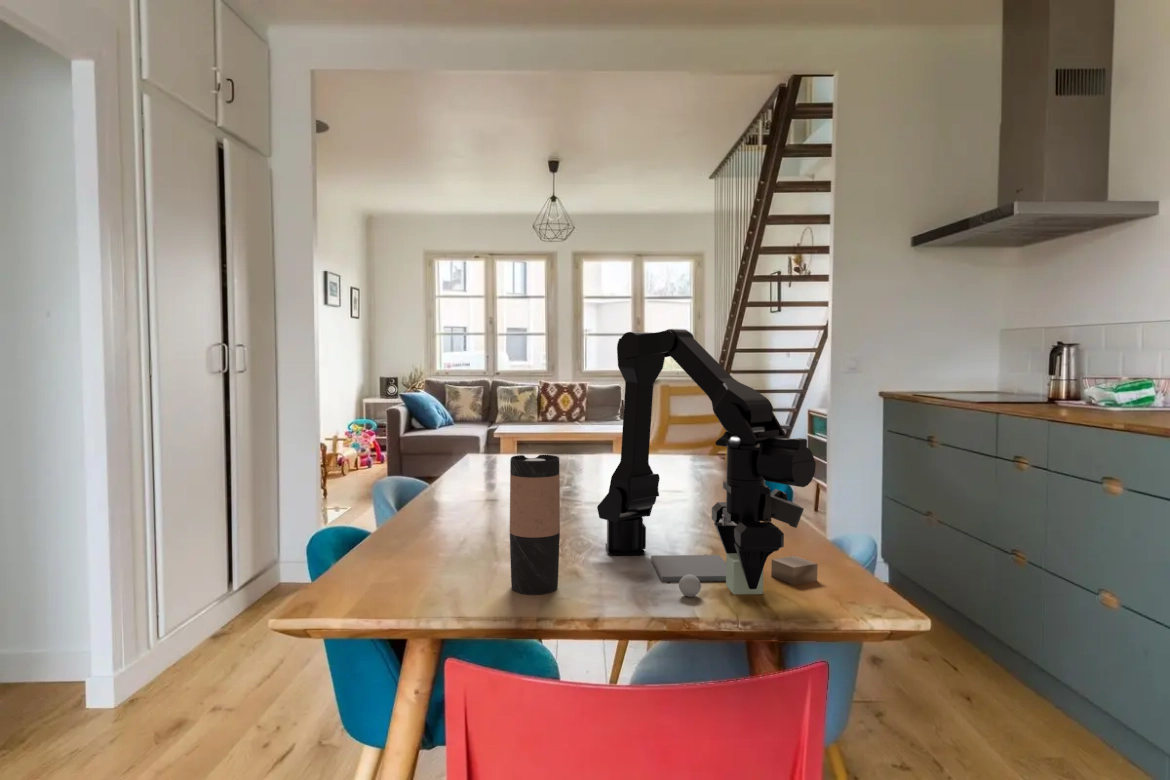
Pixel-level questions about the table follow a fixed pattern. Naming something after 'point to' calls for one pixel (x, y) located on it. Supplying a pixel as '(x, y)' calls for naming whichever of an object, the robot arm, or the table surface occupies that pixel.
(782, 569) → the walnut block
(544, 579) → the travel mug
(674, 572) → the plate
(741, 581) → the sage block
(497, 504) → the table surface
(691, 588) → the grey ball
